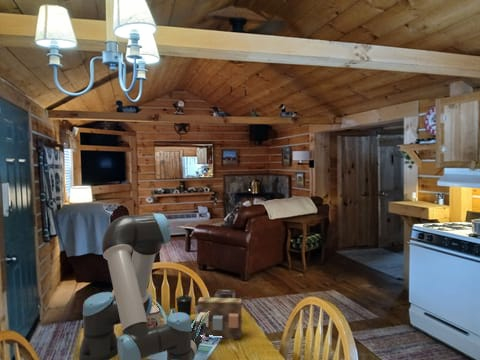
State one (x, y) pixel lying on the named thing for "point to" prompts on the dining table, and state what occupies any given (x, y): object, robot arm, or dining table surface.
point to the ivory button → (205, 319)
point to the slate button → (218, 322)
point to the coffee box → (225, 293)
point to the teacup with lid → (154, 317)
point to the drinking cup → (184, 303)
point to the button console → (222, 308)
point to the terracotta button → (233, 320)
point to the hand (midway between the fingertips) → (200, 317)
